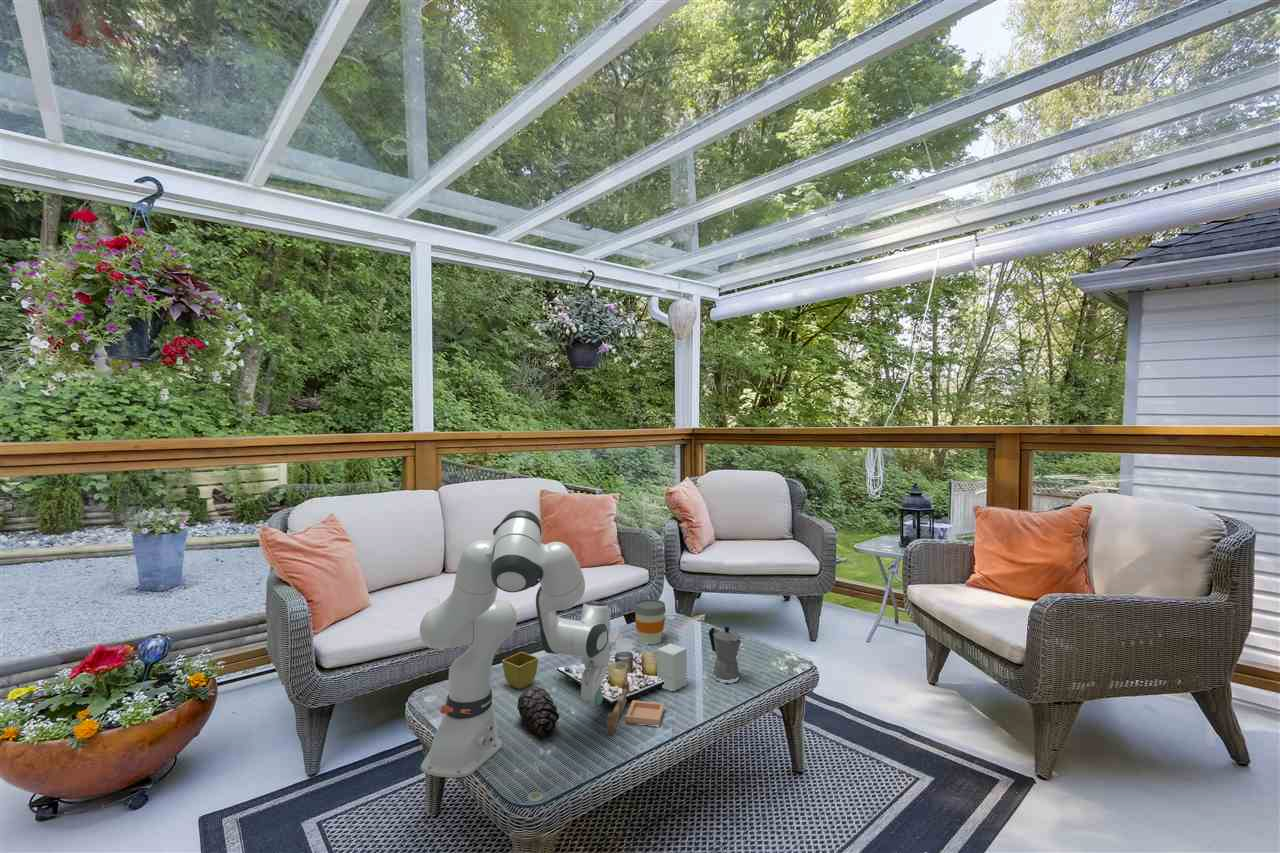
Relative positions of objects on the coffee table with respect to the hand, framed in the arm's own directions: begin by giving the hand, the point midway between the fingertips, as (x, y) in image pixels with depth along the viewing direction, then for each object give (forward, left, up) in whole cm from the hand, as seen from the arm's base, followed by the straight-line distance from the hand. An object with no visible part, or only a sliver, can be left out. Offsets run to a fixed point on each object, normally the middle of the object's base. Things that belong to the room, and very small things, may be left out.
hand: (594, 700), depth 177 cm
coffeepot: (+36, -37, -6) cm, 52 cm away
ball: (0, 0, -2) cm, 2 cm away
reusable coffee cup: (+63, -6, -6) cm, 63 cm away
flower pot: (+16, +30, -6) cm, 35 cm away
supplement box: (+26, -20, -6) cm, 33 cm away
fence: (+3, -7, -6) cm, 9 cm away
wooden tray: (+4, -15, -6) cm, 16 cm away
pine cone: (-8, +14, -6) cm, 17 cm away
